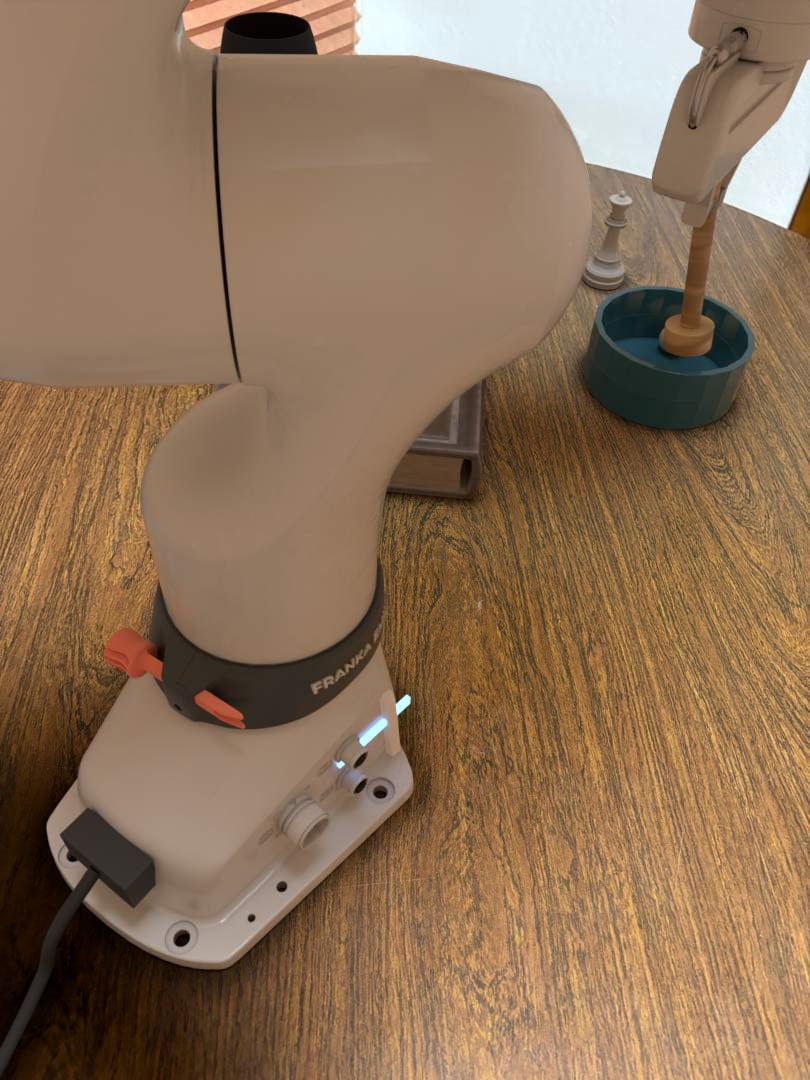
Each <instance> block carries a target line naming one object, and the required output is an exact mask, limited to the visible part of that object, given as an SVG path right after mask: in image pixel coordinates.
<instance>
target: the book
mask: <svg viewBox="0 0 810 1080" xmlns="http://www.w3.org/2000/svg"><path fill="white" fill-rule="evenodd" d="M230 384H232V383H229V384H215V387H214V390H213V392H212V394H213V393H214V392H216V391H218V390H220V389H222V388H224V387H226V386H228V385H230ZM485 395H486V378H484V379H483V380H481V381H480V382H478V383H477V384H475V385H474V386H473V387H471V388H470V389H469V390H467V391H466V392H465V393H463V394H462V395H461V396H460V397H458V398H457V399H456V400H455V401H454V402H453V403H451V404H450V405H449V406H448V407H447V408H446V409H445V410H444V411H443V412H442V413H440V414H439V415H438V416H437V417H436V418H435V419H434V421H433V422H432V423H431V424H430V425H429V426H428V427H427V428H426V429H425V430H424V431H423V432H422V433H421V435H420V436H419V437H418V438H417V439H416V441H415V442H414V443H413V444H412V446H411V447H410V448H409V450H408V451H407V452H406V454H405V455H404V457H403V458H402V459H401V461H400V463H399V464H398V466H397V468H396V470H395V471H394V473H393V475H392V477H391V480H390V482H389V484H388V487H387V490H386V493H387V492H388V493H397V494H398V493H399V494H400V493H401V494H408V495H409V494H411V495H421V496H431V497H440V498H450V499H451V498H453V499H462V500H463V499H464V500H473V497H474V496H475V494H476V492H477V491H478V489H479V486H480V484H481V480H482V472H483V448H484V447H483V446H484V425H485V424H484V422H485V421H484V420H485Z"/></svg>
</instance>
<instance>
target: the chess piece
mask: <svg viewBox="0 0 810 1080" xmlns="http://www.w3.org/2000/svg"><path fill="white" fill-rule="evenodd" d="M626 193H627V192H626V191H625V190H620V191H619V193H618V194H617V193H616V194H612V195H610V197H609V199H608V201H609V203H610V206H611V212H610V213H609V215H607V216H606V217H604V220H603V221H604V222H603V223H604V225H605V226H606V227H607V230H606V235H605V237H604V240H603V243H602V244H601V246H600V249H597V250H596V251H595V252H594V256H592V257H590V258H589V259H587V261H586V265H585V269H584V272H583V275H582V279H583V281H584V282H585V283H586V284H587V285H588V286H590V287H592V288H595V289H598V290H603V291H604V290H607V291H609V290H614V289H618V288H619V287H621V286H622V285H623V282H624V278H625V277H624V275H625V272H626V268H625V265H624V264H623V262H622V261H621V259H622V254H621V253H620V252H619V239H620V232H621V230H624V229H626V228H627V226H628V220H627V218H626V215H625V212H626V211H627V210H628V208H629V207H631V206H632V205H633V199H632V198H631V197H630V196H628V195H626Z"/></svg>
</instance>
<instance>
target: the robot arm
mask: <svg viewBox="0 0 810 1080" xmlns="http://www.w3.org/2000/svg"><path fill="white" fill-rule="evenodd" d="M190 2H191V0H0V381H6V382H11V383H18V384H24V385H26V384H27V385H31V386H38V387H45V388H53V389H58V390H73V389H103V388H105V389H106V388H131V387H132V388H134V387H135V388H136V387H162V386H189V385H190V386H193V385H216V384H229V383H232V384H230V385H228V386H226V387H224V388H222V389H220V390H218V391H216V392H214V391H213V392H214V393H213V392H212V393H211V394H209V395H207V396H205V397H204V398H202V399H201V400H199V401H197V402H196V403H194V404H192V406H190V407H189V408H188V409H186V410H185V411H184V412H183V413H182V414H181V415H180V416H179V417H177V419H176V420H175V421H174V423H172V425H171V426H170V427H169V428H168V429H167V430H166V432H165V433H164V434H163V436H162V437H161V438H160V439H159V441H158V442H157V443H156V445H155V447H154V448H153V450H152V451H151V453H150V455H149V457H148V460H147V461H146V464H145V466H144V470H143V474H142V477H141V482H140V491H139V492H140V493H139V506H140V511H141V512H140V513H141V516H142V520H143V524H144V527H145V531H146V535H147V536H146V537H147V539H148V543H149V547H150V551H151V554H152V558H153V562H154V566H155V571H156V574H157V579H158V580H157V585H156V590H155V595H154V600H153V607H152V613H151V620H150V628H149V634H148V635H149V636H148V640H145V639H144V638H143V636H141V635H140V634H139V633H138V632H137V631H136V630H134V629H132V628H131V627H122V628H120V629H119V630H117V631H115V632H114V633H113V634H112V635H111V636H110V638H109V639H108V640H107V642H106V644H105V648H104V649H103V655H104V656H103V660H104V661H106V663H107V664H109V665H110V666H113V667H115V668H117V669H120V670H122V671H124V672H125V674H126V675H127V676H128V679H127V681H126V683H125V684H124V685H123V688H122V689H121V691H120V693H119V694H118V697H117V698H116V700H115V701H114V702H113V705H112V706H111V708H110V710H109V711H108V714H107V715H106V717H105V718H104V720H103V722H102V724H101V725H100V727H99V728H98V730H97V732H96V734H95V735H94V737H93V738H92V740H91V742H90V743H89V746H87V749H86V751H85V752H84V754H83V756H82V758H81V760H80V763H79V766H78V771H77V777H76V779H75V781H74V782H73V783H72V785H71V786H70V788H69V789H68V790H67V792H66V793H65V794H64V796H63V797H62V799H61V800H60V801H59V803H58V804H57V806H56V807H55V808H54V810H53V812H52V813H51V814H50V816H49V818H48V820H47V822H46V835H47V840H48V845H49V849H50V852H51V856H52V857H53V860H54V863H55V865H56V867H57V869H58V871H59V873H60V875H61V877H62V879H63V881H65V883H66V885H67V886H68V887H69V888H70V890H71V893H70V894H69V895H68V897H67V898H66V899H65V901H64V903H63V904H62V905H61V907H60V908H59V910H58V912H57V914H56V915H55V917H54V918H53V921H52V922H51V924H50V926H49V928H48V930H47V932H46V935H45V936H44V939H43V943H42V946H41V950H40V960H39V965H38V968H37V970H36V972H35V975H34V977H33V980H32V982H31V984H30V986H29V989H28V991H27V992H26V995H25V997H24V999H23V1002H22V1004H21V1006H20V1008H19V1010H18V1013H17V1015H16V1017H15V1019H14V1021H13V1022H12V1025H11V1026H10V1029H9V1030H8V1033H7V1035H6V1036H5V1039H4V1041H3V1042H2V1044H1V1046H0V1079H1V1078H2V1076H3V1075H4V1073H5V1070H6V1069H7V1068H8V1065H9V1064H10V1061H11V1059H12V1056H13V1055H14V1052H15V1050H16V1048H17V1046H18V1044H19V1041H20V1040H21V1038H22V1036H23V1034H24V1032H25V1030H26V1028H27V1026H28V1023H30V1020H31V1019H32V1017H33V1015H34V1013H35V1011H36V1009H37V1006H38V1005H39V1002H40V1000H41V998H42V995H43V993H44V992H45V989H46V986H47V984H48V982H49V979H50V977H51V975H52V972H53V968H54V965H55V961H56V960H55V959H56V954H57V947H58V946H59V942H60V940H61V937H62V936H63V934H64V931H65V930H66V928H67V926H68V925H69V923H70V922H71V920H72V918H73V917H74V915H75V914H76V912H77V910H78V909H79V908H80V906H81V904H83V905H84V906H85V907H86V908H87V909H88V910H89V911H90V912H91V913H93V914H94V915H95V916H96V917H97V918H98V919H99V920H100V921H102V922H103V923H104V924H105V925H106V926H107V927H109V929H111V930H112V931H113V932H116V933H117V934H118V935H119V936H120V937H122V938H124V939H125V940H126V941H127V942H128V943H131V944H132V945H134V946H136V947H137V948H139V949H140V950H142V951H144V952H146V953H148V954H150V955H153V956H155V957H157V958H158V959H161V960H163V961H166V962H168V963H171V964H175V965H178V966H181V967H187V968H191V969H198V970H226V969H228V968H231V966H233V965H234V964H235V963H237V962H238V961H239V960H240V959H242V958H243V957H244V956H245V955H246V954H247V953H248V952H249V951H250V950H251V949H253V947H255V945H257V944H258V943H259V941H261V940H263V938H264V937H265V936H266V935H267V934H268V933H270V931H272V929H273V928H274V927H276V926H277V925H278V924H279V923H280V922H281V921H282V920H283V919H284V918H285V917H286V916H287V915H288V914H289V913H291V911H292V910H294V909H295V908H296V906H298V905H299V904H300V903H301V902H302V901H303V900H304V899H305V898H306V897H307V896H308V895H309V894H310V893H311V892H313V890H315V888H317V887H318V886H319V885H320V884H321V883H322V882H323V881H324V880H325V879H326V878H327V877H328V876H329V875H330V874H331V873H333V871H334V870H335V869H337V867H339V866H340V865H341V864H342V862H344V861H345V860H346V859H347V858H348V857H350V855H351V854H353V853H354V852H355V851H356V850H357V849H358V848H359V847H360V846H361V845H362V844H363V843H364V842H365V841H366V840H368V838H369V837H371V835H373V833H374V832H376V831H377V830H378V829H379V828H380V827H381V826H382V825H383V824H384V823H385V822H386V821H387V820H388V819H389V818H390V817H391V816H392V815H394V813H396V812H397V811H398V810H399V809H400V808H401V807H402V806H403V805H404V804H405V803H406V802H407V801H408V800H409V799H410V798H411V796H412V794H413V792H414V788H415V782H414V775H413V774H414V773H413V770H412V768H411V765H410V762H409V760H408V757H407V755H406V753H405V751H404V749H403V747H402V745H401V739H400V738H401V737H400V730H399V729H400V728H399V714H400V713H402V712H403V711H404V710H405V709H406V708H407V707H408V706H410V704H411V696H410V695H408V694H405V695H404V696H403V697H402V698H401V699H400V700H399V701H398V702H397V699H396V696H395V691H394V687H393V684H392V680H391V676H390V673H389V668H388V665H387V661H386V657H385V652H384V649H383V646H382V643H381V640H382V637H383V636H382V635H383V633H384V624H385V617H386V611H387V591H386V590H385V575H384V570H383V569H384V568H383V565H382V562H381V559H380V555H379V554H378V552H379V543H380V542H379V541H380V532H381V524H382V516H383V512H384V511H383V509H384V505H385V499H386V494H387V491H386V490H387V487H388V484H389V482H390V480H391V477H392V475H393V473H394V471H395V470H396V468H397V466H398V464H399V463H400V461H401V459H402V458H403V457H404V455H405V454H406V452H407V451H408V450H409V448H410V447H411V446H412V444H413V443H414V442H415V441H416V439H417V438H418V437H419V436H420V435H421V433H422V432H423V431H424V430H425V429H426V428H427V427H428V426H429V425H430V424H431V423H432V422H433V421H434V419H435V418H436V417H437V416H438V415H439V414H440V413H442V412H443V411H444V410H445V409H446V408H447V407H448V406H449V405H450V404H451V403H453V402H454V401H455V400H456V399H457V398H458V397H460V396H461V395H462V394H463V393H465V392H466V391H467V390H469V389H470V388H471V387H473V386H474V385H475V384H477V383H478V382H480V381H481V380H483V379H484V378H485V379H486V378H487V377H489V376H491V375H493V374H494V373H496V372H497V371H499V370H500V369H502V368H504V367H506V366H508V365H510V364H512V363H514V362H515V361H517V360H519V359H521V358H524V357H525V356H527V355H529V354H530V353H532V352H534V351H535V350H536V349H537V348H538V347H539V346H540V345H541V344H542V343H543V342H544V341H545V340H546V339H547V338H548V336H549V335H550V334H551V332H552V331H553V330H554V329H555V328H556V327H557V325H558V324H559V323H560V321H561V320H562V318H563V316H564V315H565V313H566V311H567V309H568V308H569V306H570V305H571V303H572V301H573V299H574V297H575V295H576V293H577V291H578V287H579V286H580V284H581V280H582V279H583V272H584V269H585V265H586V262H587V261H588V258H589V257H588V256H589V252H590V248H591V243H592V236H593V235H592V234H593V233H592V232H593V217H594V215H593V214H594V213H593V212H594V211H593V210H594V209H593V197H592V189H591V182H590V175H589V171H588V167H587V163H586V161H585V158H584V155H583V152H582V149H581V145H580V143H579V141H578V139H577V137H576V135H575V132H574V131H573V128H572V126H571V124H570V123H569V121H568V119H567V117H565V114H563V112H562V110H561V109H560V107H559V106H558V104H557V103H556V102H555V101H554V99H553V98H552V97H551V96H550V94H549V93H548V92H547V91H546V90H545V89H544V88H543V87H541V86H540V85H538V84H534V83H531V82H527V81H523V80H519V79H516V78H513V77H508V76H504V75H502V74H501V75H500V74H497V73H493V72H490V71H486V70H482V69H478V68H473V67H469V66H466V65H460V64H456V63H451V62H446V61H442V60H437V59H433V58H428V57H424V56H419V55H411V54H409V55H408V54H405V55H404V54H403V55H402V54H318V55H309V54H220V52H218V50H217V49H209V48H204V47H201V46H199V45H197V44H196V43H195V42H193V41H192V39H191V38H190V37H189V35H188V33H187V31H186V27H185V23H184V16H183V14H184V12H185V10H186V8H187V6H188V5H189V4H190ZM687 34H688V36H689V38H690V39H691V41H693V42H694V43H695V44H697V45H698V46H700V47H701V48H702V50H701V53H700V56H699V59H698V63H697V64H695V65H694V66H693V67H692V68H690V69H689V70H688V71H687V73H686V74H685V75H684V77H683V79H682V80H681V82H680V85H679V86H678V89H677V91H676V94H675V97H674V100H673V102H672V105H671V109H670V111H669V114H668V118H667V121H666V124H665V128H664V131H663V134H662V138H661V140H660V144H659V147H658V151H657V155H656V157H655V162H654V165H653V169H652V172H651V188H652V191H653V192H654V193H655V194H657V195H660V196H663V197H666V198H669V199H672V200H675V201H679V202H683V203H684V205H683V209H682V212H681V216H680V219H681V222H682V223H683V225H687V226H690V227H692V228H693V227H696V228H699V227H702V226H703V224H704V223H705V222H706V221H707V220H708V219H709V217H710V214H711V210H712V208H713V205H714V202H715V200H714V199H713V197H714V194H715V190H716V186H717V185H718V184H719V182H720V181H721V180H722V181H721V188H720V194H719V201H718V207H717V210H719V208H720V207H721V206H722V205H723V204H724V200H725V198H726V194H727V191H728V188H729V186H730V184H731V182H732V180H733V178H734V176H735V174H736V172H737V170H738V168H739V166H740V164H741V161H742V160H743V158H744V157H745V156H746V155H747V154H748V153H749V152H750V150H752V149H753V148H754V146H755V145H756V144H757V143H758V142H759V141H760V140H761V139H762V138H763V137H764V136H765V135H766V134H767V133H768V132H769V131H770V130H771V129H772V127H774V126H775V125H776V123H777V122H778V121H779V120H780V119H781V117H782V116H783V114H784V112H785V110H786V108H787V107H788V105H789V103H790V101H791V99H792V97H793V95H794V93H795V90H796V89H797V86H798V83H799V81H800V80H801V76H802V74H803V72H804V70H805V68H806V65H807V63H808V61H810V0H695V2H694V5H693V9H692V13H691V17H690V20H689V23H688V29H687ZM377 792H383V793H384V794H385V795H386V796H385V797H383V798H378V797H376V796H375V794H376V793H377ZM72 857H73V858H74V859H75V860H76V861H70V860H71V858H72ZM282 888H284V889H285V890H284V891H279V890H280V889H282ZM183 935H188V936H189V941H188V942H187V943H186V944H185V945H183V946H178V945H176V942H177V940H178V939H179V937H181V936H183Z"/></svg>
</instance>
